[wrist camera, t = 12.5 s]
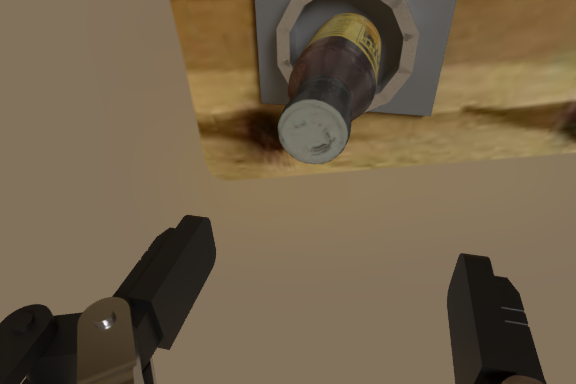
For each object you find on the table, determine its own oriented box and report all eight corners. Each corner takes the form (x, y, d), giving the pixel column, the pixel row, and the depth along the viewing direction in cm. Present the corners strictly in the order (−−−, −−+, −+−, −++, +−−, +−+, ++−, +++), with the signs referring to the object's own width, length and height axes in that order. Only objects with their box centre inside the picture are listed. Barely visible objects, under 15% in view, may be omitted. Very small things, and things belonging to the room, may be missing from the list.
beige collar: (427, -33, 32) (430, -28, 30) (403, 107, 40) (404, 119, 37) (282, -34, 35) (274, -30, 32) (285, 98, 42) (279, 109, 40)
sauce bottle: (377, 77, 38) (363, 196, 23) (315, 73, 40) (262, 184, 24) (386, 5, 35) (376, 90, 19) (317, 3, 36) (254, 82, 20)
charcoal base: (463, -45, 32) (465, -44, 31) (429, 111, 41) (430, 116, 40) (255, -46, 36) (251, -44, 35) (264, 98, 44) (261, 103, 43)
